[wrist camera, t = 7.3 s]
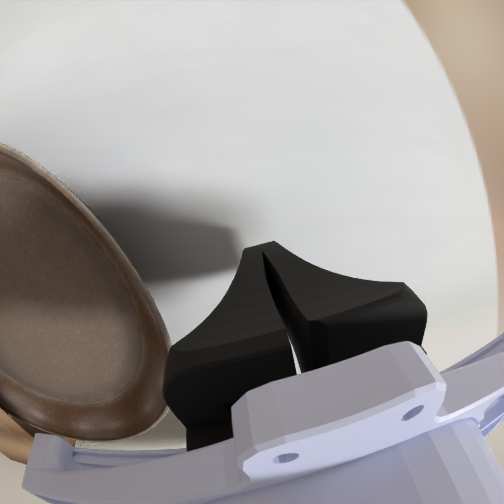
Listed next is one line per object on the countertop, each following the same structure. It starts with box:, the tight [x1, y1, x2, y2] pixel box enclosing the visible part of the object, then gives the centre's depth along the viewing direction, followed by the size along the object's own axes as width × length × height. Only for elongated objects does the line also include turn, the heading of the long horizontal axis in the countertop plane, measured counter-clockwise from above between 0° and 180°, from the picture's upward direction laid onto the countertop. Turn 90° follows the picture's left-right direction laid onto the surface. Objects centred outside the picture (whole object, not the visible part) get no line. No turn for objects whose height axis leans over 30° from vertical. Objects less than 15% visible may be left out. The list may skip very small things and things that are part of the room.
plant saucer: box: [0, 144, 172, 443], centre depth 12 cm, size 21×21×3 cm
